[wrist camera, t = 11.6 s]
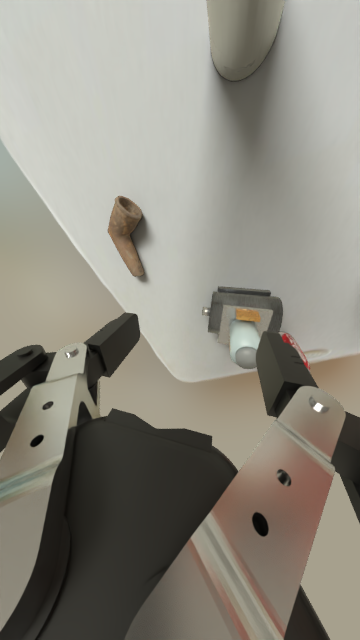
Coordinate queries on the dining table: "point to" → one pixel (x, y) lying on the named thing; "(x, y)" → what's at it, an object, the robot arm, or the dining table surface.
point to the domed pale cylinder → (244, 343)
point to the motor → (243, 311)
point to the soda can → (291, 341)
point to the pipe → (125, 232)
